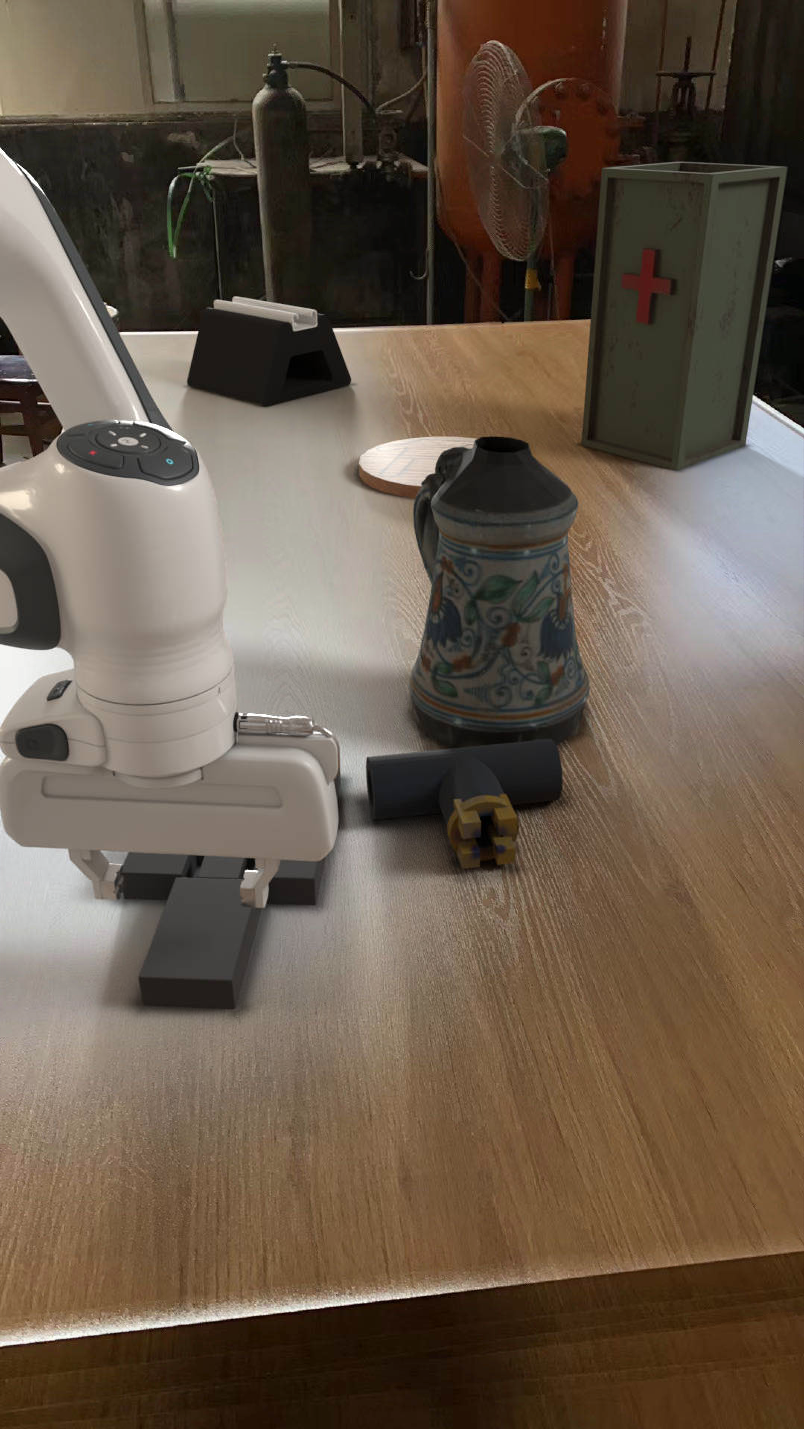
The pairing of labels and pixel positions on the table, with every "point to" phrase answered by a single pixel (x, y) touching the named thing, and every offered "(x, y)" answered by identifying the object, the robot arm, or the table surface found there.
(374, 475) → the trivet
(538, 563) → the beer stein
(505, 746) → the pipe connector
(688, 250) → the first aid box
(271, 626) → the table surface
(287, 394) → the device stand
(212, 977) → the black tile
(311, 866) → the base pad
